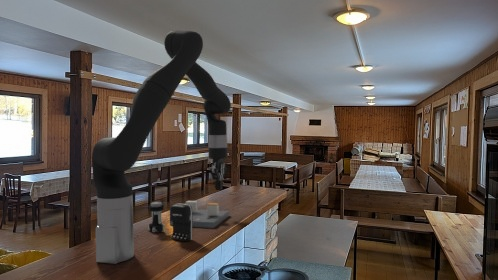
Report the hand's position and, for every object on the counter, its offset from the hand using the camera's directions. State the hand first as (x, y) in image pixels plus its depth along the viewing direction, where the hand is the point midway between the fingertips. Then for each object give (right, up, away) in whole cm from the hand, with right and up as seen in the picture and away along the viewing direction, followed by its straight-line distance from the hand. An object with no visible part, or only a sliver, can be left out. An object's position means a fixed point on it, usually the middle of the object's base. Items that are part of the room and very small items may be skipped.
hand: (218, 189), depth 142 cm
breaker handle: (-2, -9, -6) cm, 11 cm away
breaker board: (-7, -11, -5) cm, 14 cm away
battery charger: (-10, -12, -29) cm, 33 cm away
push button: (-20, -12, -19) cm, 30 cm away
